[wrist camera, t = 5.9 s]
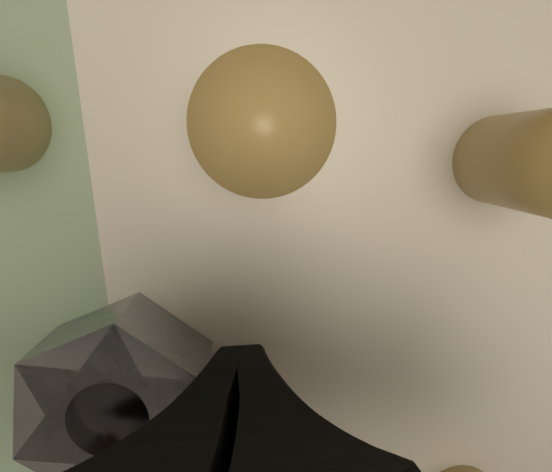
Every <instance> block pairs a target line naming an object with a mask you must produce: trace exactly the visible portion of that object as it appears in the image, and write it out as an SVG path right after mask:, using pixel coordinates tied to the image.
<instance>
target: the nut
mask: <svg viewBox="0 0 552 472" xmlns="http://www.w3.org/2000/svg"><path fill="white" fill-rule="evenodd" d="M212 343H213V342H212V341H211V340H209V339H208V338H206V337H205V336H204V335H202V334H201V333H199V332H198V331H196V330H195V329H193V328H192V327H190V326H189V325H187V324H186V323H184V322H183V321H181V320H180V319H178V318H177V317H175V316H174V315H172V314H171V313H169V312H168V311H167V310H165V309H164V308H162V307H161V306H159V305H158V304H156V303H155V302H153V301H152V300H150V299H149V298H147V297H146V296H144V295H143V294H141V293H140V292H139V293H136V294H134V295H131V296H129V297H127V298H124V299H122V300H119V301H117V302H114V303H112V304H110V305H107V306H105V307H102V308H100V309H98V310H95V311H93V312H90V313H88V314H85V315H83V316H81V317H78V318H76V319H73V320H71V321H69V322H66V323H64V324H61V325H59V326H57V327H56V328H55V329H54V330H53V331H51V332H50V333H49V334H48V335H47V336H46V337H45V338H44V339H42V340H41V341H40V342H39V343H38V344H37V345H36V346H35V347H33V348H32V349H31V350H30V351H29V352H28V353H27V354H25V355H24V356H23V357H22V358H21V359H20V360H19V361H18V362H16V363H15V364H14V409H13V460H14V461H16V462H18V463H20V464H21V465H23V466H25V467H27V468H28V469H30V470H32V471H34V472H63V471H65V470H67V469H69V468H71V467H73V466H75V465H77V464H79V463H81V462H83V461H85V460H87V459H89V458H91V457H93V456H95V455H97V454H98V453H100V452H102V451H104V450H105V449H107V448H109V447H111V446H112V445H114V444H116V443H117V442H119V441H120V440H122V439H123V438H125V437H126V436H128V435H129V434H131V433H132V432H134V431H135V430H137V429H138V428H140V427H141V426H143V425H144V424H146V423H147V422H148V421H150V420H151V419H152V418H154V417H155V416H156V415H157V414H159V413H160V412H161V411H162V410H164V409H165V408H166V407H167V406H168V405H169V404H171V403H172V402H173V401H174V400H175V399H176V398H177V397H178V396H179V395H180V394H181V393H182V392H183V391H184V390H185V389H186V388H187V387H188V386H189V385H190V384H191V382H192V381H193V380H194V379H195V378H196V377H197V375H198V374H199V373H200V372H201V371H202V370H203V368H204V367H205V366H206V365H207V363H208V362H209V361H210V360H211V352H212Z"/></svg>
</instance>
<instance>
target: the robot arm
mask: <svg viewBox="0 0 552 472" xmlns="http://www.w3.org/2000/svg"><path fill="white" fill-rule="evenodd" d="M63 472H421V471H420V469H419V468H418V466H417V465H416V463H415V462H414V461H412V460H409V459H406V458H404V457H401V456H398V455H396V454H393V453H390V452H388V451H385V450H382V449H380V448H377V447H375V446H373V445H370V444H368V443H366V442H364V441H362V440H360V439H358V438H356V437H354V436H352V435H350V434H349V433H347V432H345V431H343V430H342V429H340V428H338V427H337V426H335V425H334V424H332V423H331V422H329V421H328V420H326V419H325V418H323V417H322V416H320V415H319V414H318V413H316V412H315V411H314V410H313V409H311V408H310V407H309V406H308V405H307V404H306V403H305V402H304V401H303V400H302V399H301V398H300V397H299V396H298V395H297V394H296V393H295V392H294V391H293V390H292V389H291V388H290V387H289V386H288V384H287V383H286V382H285V381H284V379H283V378H282V377H281V376H280V374H279V373H278V372H277V370H276V369H275V367H274V366H273V364H272V363H271V361H270V360H269V358H268V356H267V354H266V352H265V350H264V347H263V346H262V345H260V344H252V345H237V346H221V347H220V348H219V350H218V351H217V352H216V353H215V354H214V356H213V357H212V358H211V360H210V361H209V362H208V363H207V365H206V366H205V367H204V368H203V370H202V371H201V372H200V373H199V374H198V375H197V377H196V378H195V379H194V380H193V381H192V382H191V384H190V385H189V386H188V387H187V388H186V389H185V390H184V391H183V392H182V393H181V394H180V395H179V396H178V397H177V398H176V399H175V400H174V401H173V402H172V403H171V404H169V405H168V406H167V407H166V408H165V409H164V410H162V411H161V412H160V413H159V414H157V415H156V416H155V417H154V418H152V419H151V420H150V421H148V422H147V423H146V424H144V425H143V426H141V427H140V428H138V429H137V430H135V431H134V432H132V433H131V434H129V435H128V436H126V437H125V438H123V439H122V440H120V441H119V442H117V443H116V444H114V445H112V446H111V447H109V448H107V449H105V450H104V451H102V452H100V453H98V454H97V455H95V456H93V457H91V458H89V459H87V460H85V461H83V462H81V463H79V464H77V465H75V466H73V467H71V468H69V469H67V470H65V471H63Z"/></svg>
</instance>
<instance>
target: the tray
mask: <svg viewBox="0 0 552 472" xmlns="http://www.w3.org/2000/svg"><path fill="white" fill-rule="evenodd" d="M139 292H140V293H141V294H143V295H144V296H146V297H147V298H149V299H150V300H152V301H153V302H155V303H156V304H158V305H159V306H161V307H162V308H164V309H165V310H167V311H168V312H169V313H171V314H172V315H174V316H175V317H177V318H178V319H180V320H181V321H183V322H184V323H186V324H187V325H189V326H190V327H192V328H193V329H195V330H196V331H198V332H199V333H201V334H202V335H204V336H205V337H206V338H208V339H209V340H211V341H212V342H213V343H212V352H211V358H212V357H213V356H214V354H215V353H216V352H217V351H218V350H219V348H220V347H221V346H237V345H252V344H260V345H262V346H263V347H264V350H265V352H266V354H267V356H268V358H269V360H270V361H271V363H272V364H273V366H274V367H275V369H276V370H277V372H278V373H279V374H280V376H281V377H282V378H283V379H284V381H285V382H286V383H287V384H288V386H289V387H290V388H291V389H292V390H293V391H294V392H295V393H296V394H297V395H298V396H299V397H300V398H301V399H302V400H303V401H304V402H305V403H306V404H307V405H308V406H309V407H310V408H311V409H313V410H314V411H315V412H316V413H318V414H319V415H320V416H322V417H323V418H325V419H326V420H328V421H329V422H331V423H332V424H334V425H335V426H337V427H338V428H340V429H342V430H343V431H345V432H347V433H349V434H350V435H352V436H354V437H356V438H358V439H360V440H362V441H364V442H366V443H368V444H370V445H373V446H375V447H377V448H380V449H382V450H385V451H388V452H390V453H393V454H396V455H398V456H401V457H404V458H406V459H409V460H412V461H414V462H415V463H416V465H417V466H418V468H419V469H420V471H421V472H552V0H0V472H34V471H32V470H30V469H28V468H27V467H25V466H23V465H21V464H20V463H18V462H16V461H14V460H13V409H14V364H15V363H16V362H18V361H19V360H20V359H21V358H22V357H23V356H24V355H25V354H27V353H28V352H29V351H30V350H31V349H32V348H33V347H35V346H36V345H37V344H38V343H39V342H40V341H41V340H42V339H44V338H45V337H46V336H47V335H48V334H49V333H50V332H51V331H53V330H54V329H55V328H56V327H57V326H59V325H61V324H64V323H66V322H69V321H71V320H73V319H76V318H78V317H81V316H83V315H85V314H88V313H90V312H93V311H95V310H98V309H100V308H102V307H105V306H107V305H110V304H112V303H114V302H117V301H119V300H122V299H124V298H127V297H129V296H131V295H134V294H136V293H139Z"/></svg>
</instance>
